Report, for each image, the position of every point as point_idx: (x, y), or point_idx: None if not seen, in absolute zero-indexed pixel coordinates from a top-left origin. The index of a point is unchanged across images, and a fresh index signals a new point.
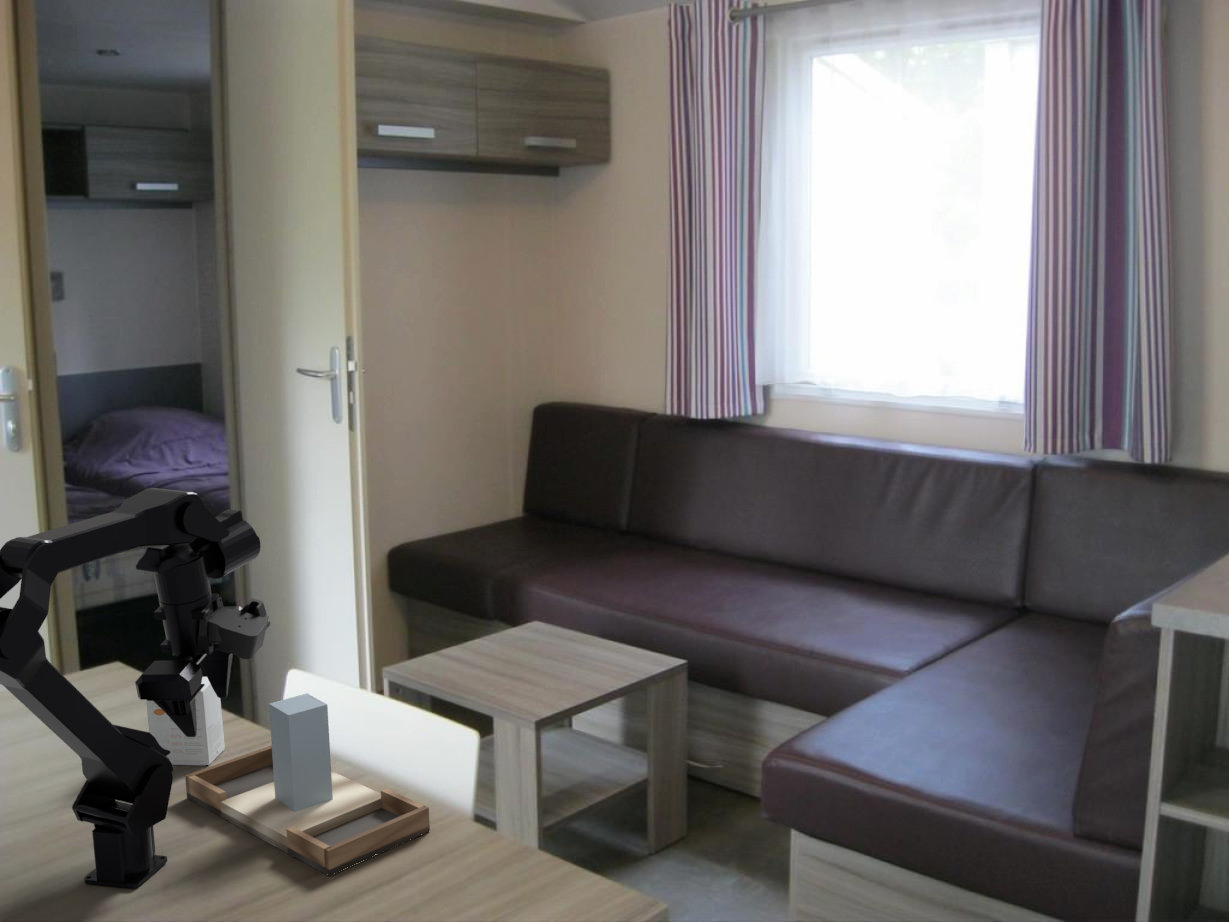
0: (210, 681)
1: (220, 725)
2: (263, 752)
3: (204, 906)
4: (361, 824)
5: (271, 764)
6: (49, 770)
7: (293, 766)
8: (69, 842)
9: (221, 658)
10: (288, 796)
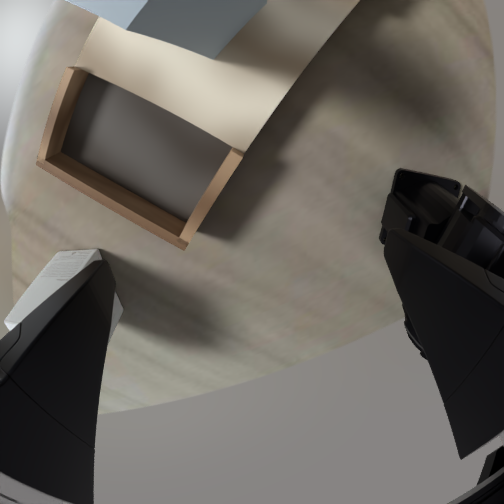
0: (104, 347)
1: (45, 272)
2: (69, 172)
3: (488, 87)
4: None
5: (73, 159)
6: (175, 379)
7: None
8: (336, 306)
9: (32, 399)
10: (251, 12)
